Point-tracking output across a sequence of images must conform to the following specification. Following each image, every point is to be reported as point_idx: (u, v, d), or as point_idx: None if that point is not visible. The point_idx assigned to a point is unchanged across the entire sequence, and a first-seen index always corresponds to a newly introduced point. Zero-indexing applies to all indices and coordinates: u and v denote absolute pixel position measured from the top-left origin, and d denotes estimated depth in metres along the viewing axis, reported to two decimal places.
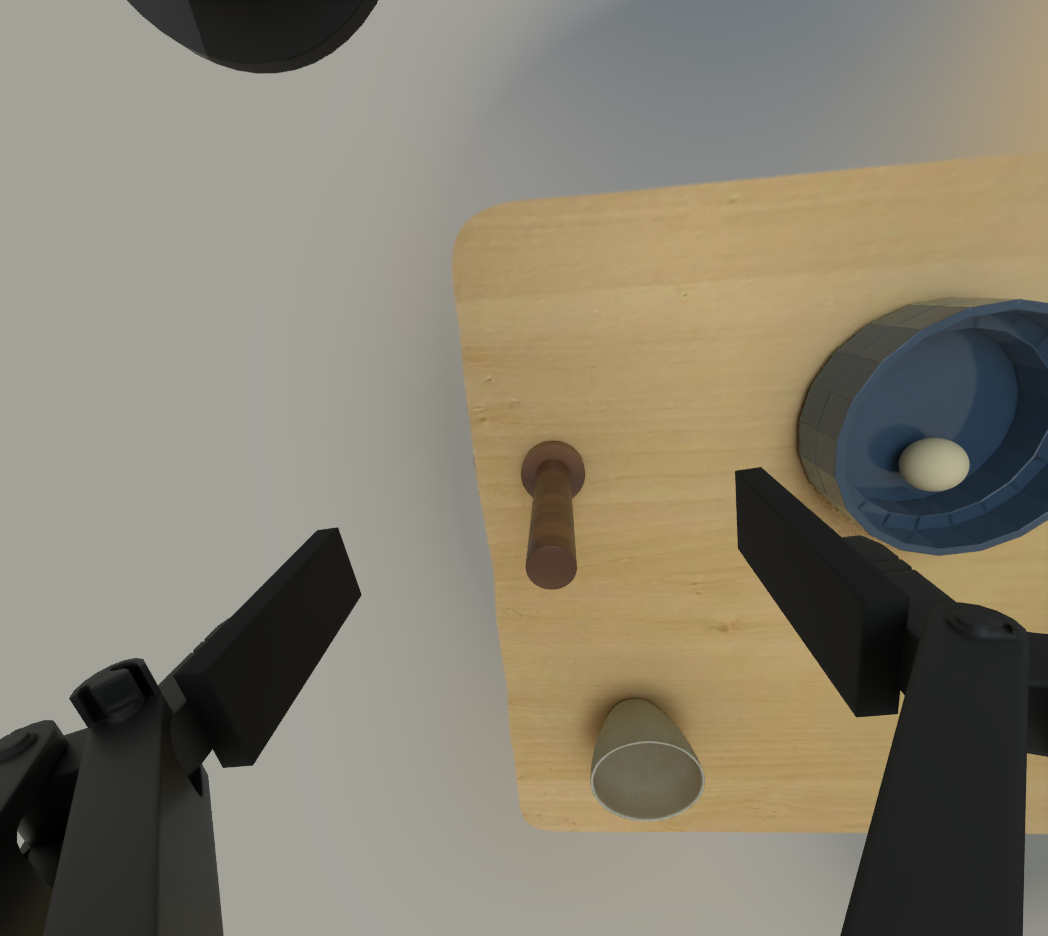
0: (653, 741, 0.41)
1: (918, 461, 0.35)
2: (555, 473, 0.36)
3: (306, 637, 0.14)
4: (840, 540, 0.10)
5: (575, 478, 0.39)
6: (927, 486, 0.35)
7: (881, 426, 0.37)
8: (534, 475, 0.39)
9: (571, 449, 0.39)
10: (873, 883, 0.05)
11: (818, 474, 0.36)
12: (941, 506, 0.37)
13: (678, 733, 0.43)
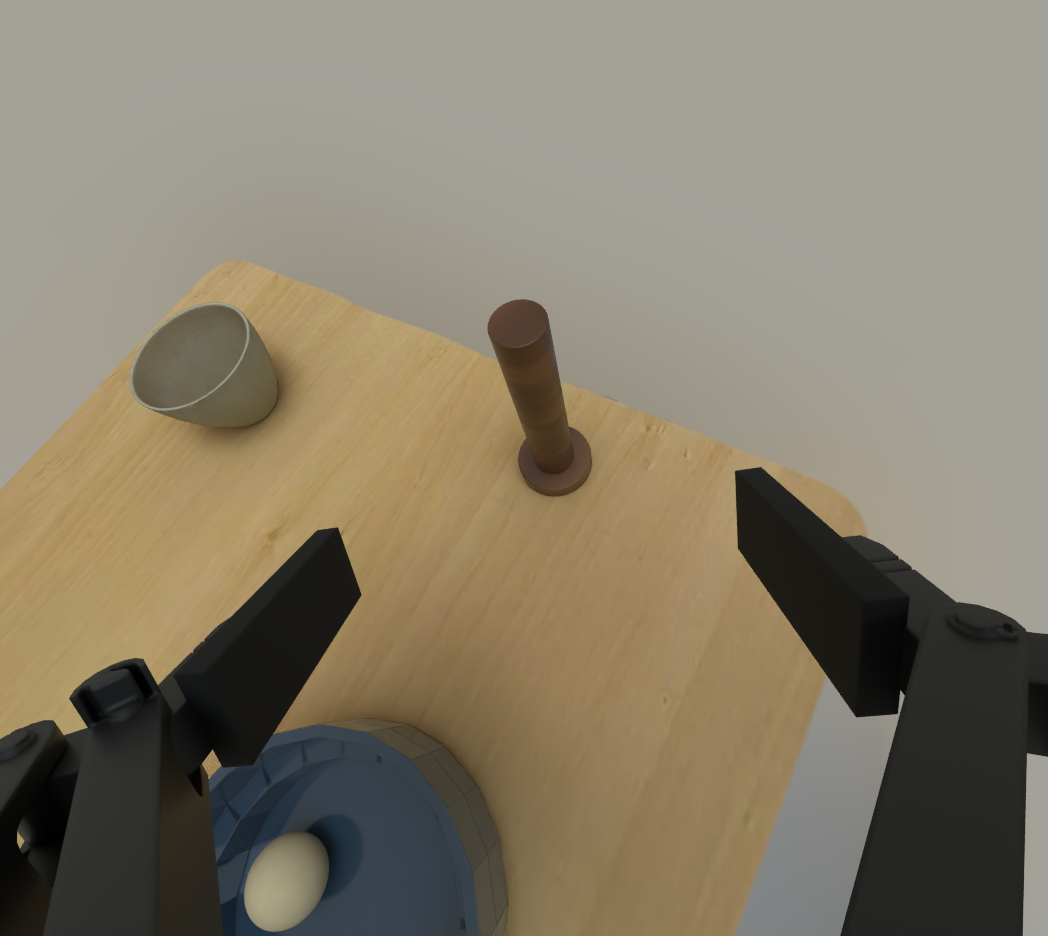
0: (225, 380, 0.35)
1: (307, 859, 0.25)
2: (564, 448, 0.31)
3: (306, 637, 0.14)
4: (840, 540, 0.10)
5: (537, 475, 0.34)
6: (269, 851, 0.25)
7: (372, 844, 0.27)
8: None
9: (568, 488, 0.33)
10: (874, 883, 0.05)
11: (374, 725, 0.27)
12: (228, 860, 0.26)
13: (210, 416, 0.36)
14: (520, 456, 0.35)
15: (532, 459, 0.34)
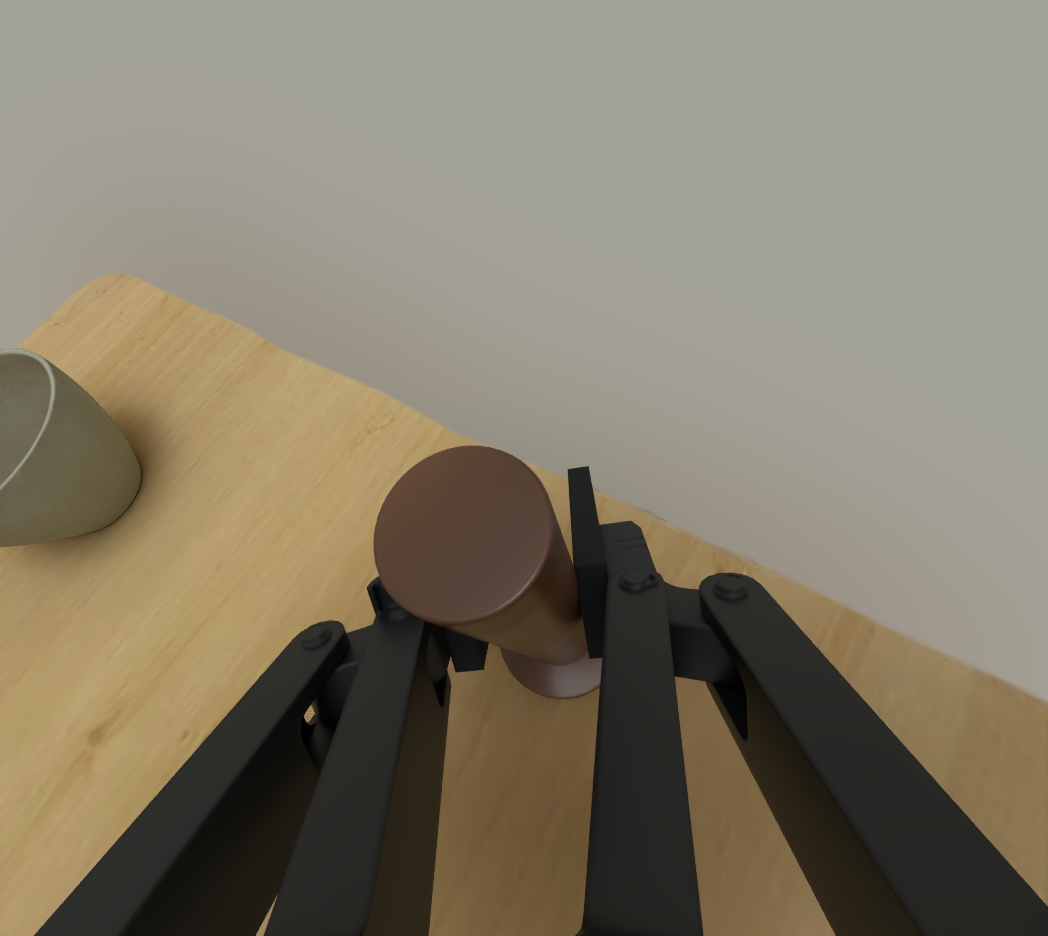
0: None
1: None
2: (580, 648, 0.16)
3: None
4: (595, 523, 0.13)
5: (530, 665, 0.19)
6: None
7: None
8: None
9: (585, 694, 0.19)
10: (602, 808, 0.06)
11: None
12: None
13: None
14: None
15: None
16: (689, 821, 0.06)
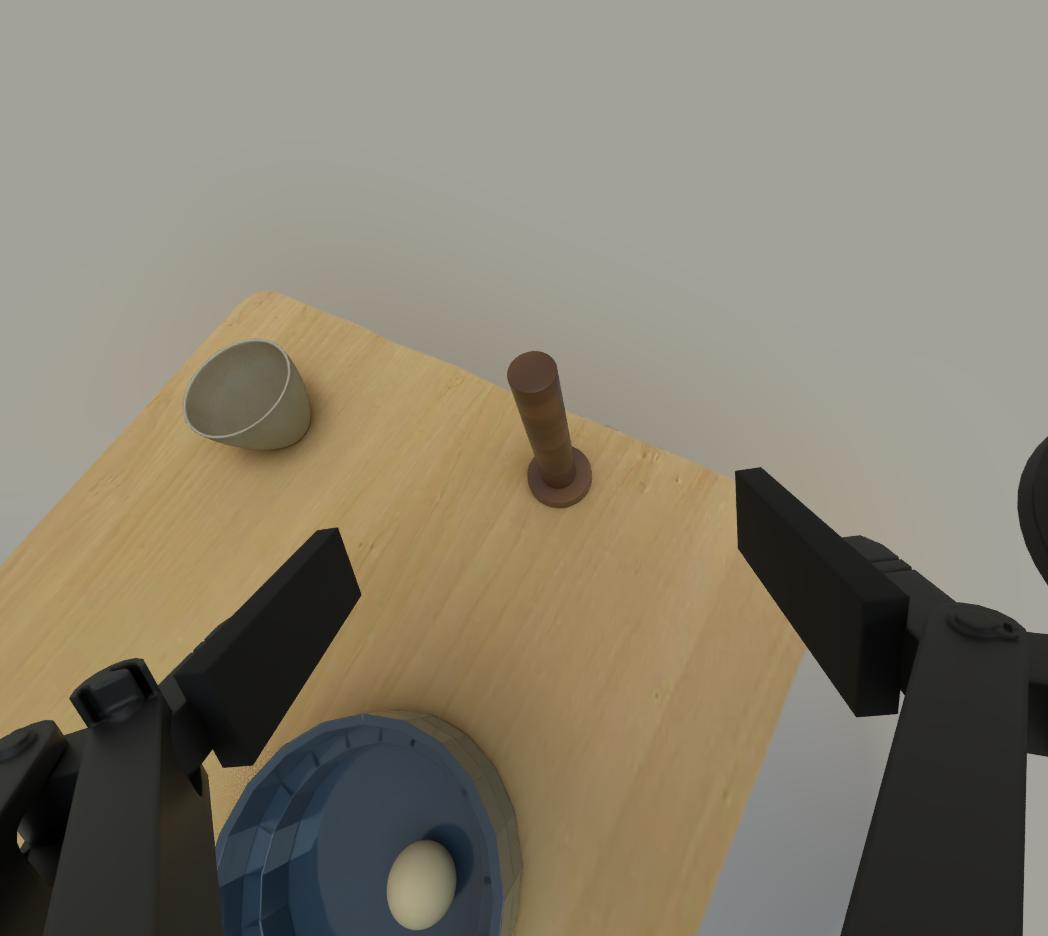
0: (270, 411, 0.39)
1: None
2: (565, 469, 0.36)
3: (306, 637, 0.14)
4: (840, 540, 0.10)
5: (541, 486, 0.39)
6: (427, 840, 0.29)
7: (405, 817, 0.31)
8: None
9: (566, 503, 0.38)
10: (874, 883, 0.05)
11: (407, 715, 0.32)
12: (283, 830, 0.31)
13: (254, 441, 0.41)
14: (530, 468, 0.40)
15: (539, 472, 0.39)
16: None
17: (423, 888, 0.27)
